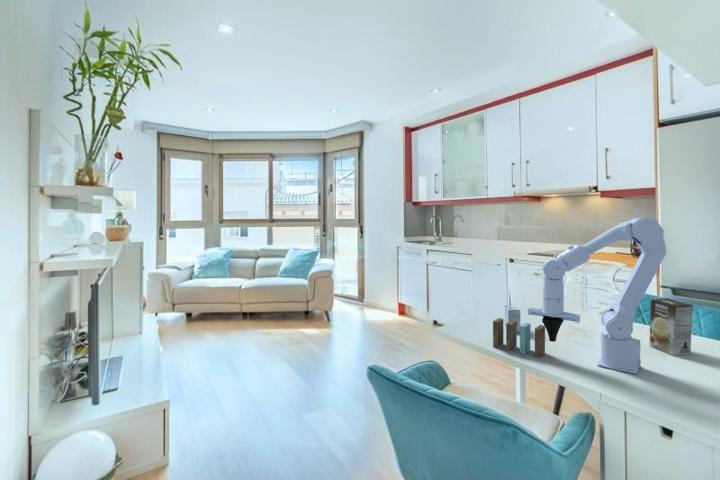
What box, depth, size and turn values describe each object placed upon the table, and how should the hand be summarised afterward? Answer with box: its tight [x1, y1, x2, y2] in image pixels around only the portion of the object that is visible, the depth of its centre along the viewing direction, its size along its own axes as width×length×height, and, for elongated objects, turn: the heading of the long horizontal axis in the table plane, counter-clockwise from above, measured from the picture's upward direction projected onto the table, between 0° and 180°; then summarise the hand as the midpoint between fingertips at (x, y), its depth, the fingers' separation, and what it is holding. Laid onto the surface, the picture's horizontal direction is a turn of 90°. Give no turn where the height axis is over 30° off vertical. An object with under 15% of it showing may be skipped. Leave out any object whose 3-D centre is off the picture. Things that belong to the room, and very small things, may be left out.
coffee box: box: [649, 297, 694, 357], centre depth 119 cm, size 9×6×16 cm
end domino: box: [492, 317, 505, 349], centre depth 128 cm, size 2×5×9 cm, turn 138°
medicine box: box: [504, 304, 521, 333], centre depth 145 cm, size 8×4×9 cm, turn 168°
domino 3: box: [534, 324, 546, 359], centre depth 119 cm, size 2×5×9 cm, turn 137°
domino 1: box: [505, 320, 518, 352], centre depth 125 cm, size 2×5×9 cm, turn 137°
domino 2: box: [519, 322, 531, 355], centre depth 122 cm, size 2×5×9 cm, turn 137°
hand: (552, 340), depth 116 cm, fingers closed
